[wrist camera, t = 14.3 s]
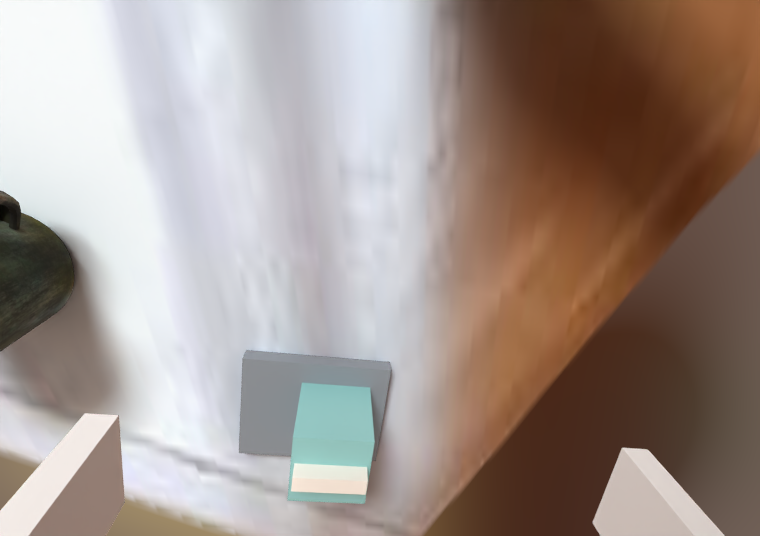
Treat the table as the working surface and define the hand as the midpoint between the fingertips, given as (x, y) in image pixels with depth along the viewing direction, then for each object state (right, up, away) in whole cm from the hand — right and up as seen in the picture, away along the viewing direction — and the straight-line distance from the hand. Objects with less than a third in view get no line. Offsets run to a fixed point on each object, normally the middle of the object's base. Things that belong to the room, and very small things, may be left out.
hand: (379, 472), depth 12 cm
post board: (-7, -8, +33) cm, 35 cm away
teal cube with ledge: (-5, -9, +32) cm, 33 cm away
